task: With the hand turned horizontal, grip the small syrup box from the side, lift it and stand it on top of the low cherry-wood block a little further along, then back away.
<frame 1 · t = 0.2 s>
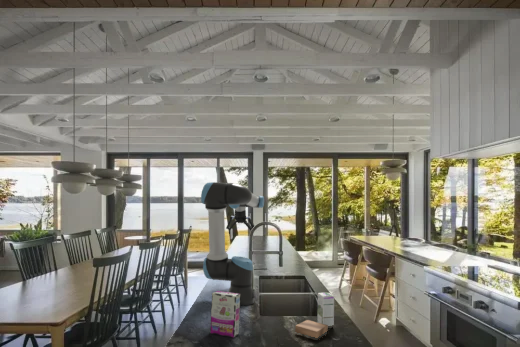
hand: (241, 239, 249), 28 cm above the worktop, tool tilted 20°, fingers open, 13 cm apart
candy bar box: (224, 334, 150), on the worktop
syrup box: (325, 327, 163), on the worktop
wood block: (311, 335, 153), on the worktop
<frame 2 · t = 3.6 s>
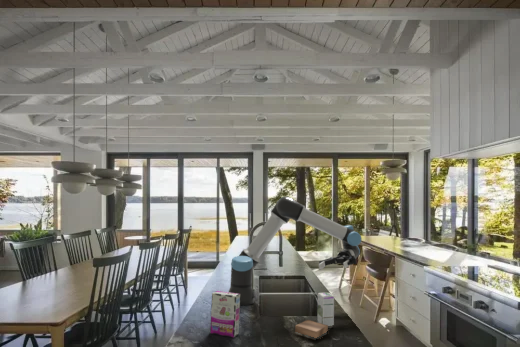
hand: (331, 266, 184), 23 cm above the worktop, tool horizontal, fingers open, 13 cm apart
nothing on the worktop moved.
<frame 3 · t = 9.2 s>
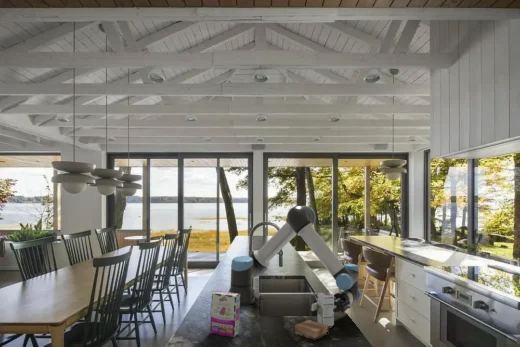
hand: (320, 309, 160), 9 cm above the worktop, tool horizontal, fingers closed on syrup box, 8 cm apart
syrup box: (325, 327, 163), on the worktop, touching gripper
everything else where it was.
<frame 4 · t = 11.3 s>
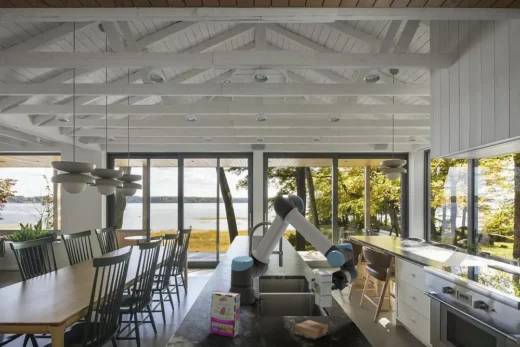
hand: (318, 287, 156), 19 cm above the worktop, tool horizontal, fingers closed on syrup box, 8 cm apart
syrup box: (322, 305, 160), point 10 cm above the worktop, touching gripper
everything else where it was.
when the fingers open (14 cm above the worktop, at t = 13.9 s): syrup box drops 2 cm, resting on wood block.
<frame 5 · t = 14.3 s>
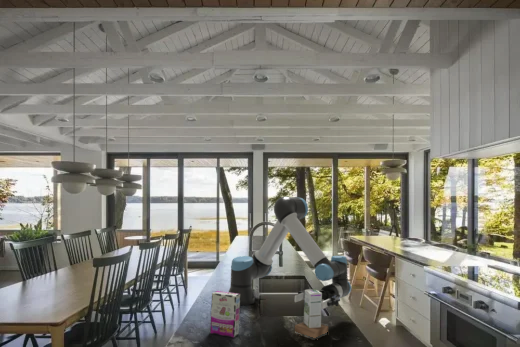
hand: (308, 302, 151), 14 cm above the worktop, tool horizontal, fingers open, 12 cm apart
syrup box: (311, 325, 154), point 3 cm above the worktop, touching wood block
wood block: (311, 335, 153), on the worktop, touching syrup box
everything else where it was.
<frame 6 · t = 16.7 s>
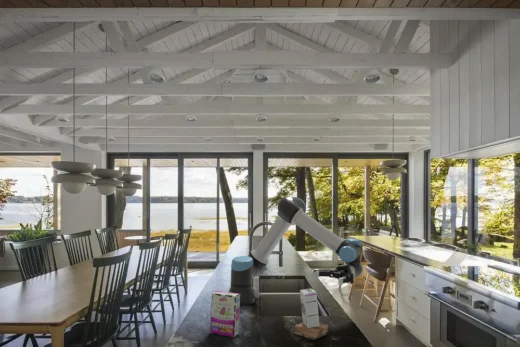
hand: (324, 278, 162), 22 cm above the worktop, tool horizontal, fingers open, 13 cm apart
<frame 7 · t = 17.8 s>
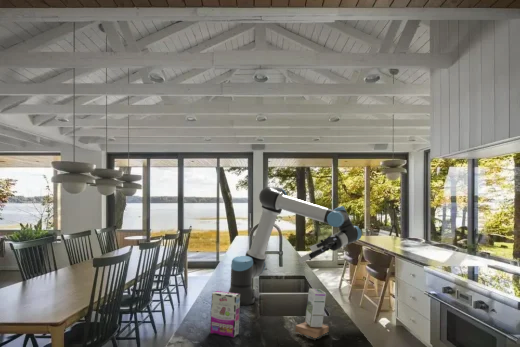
hand: (305, 255, 173), 30 cm above the worktop, tool tilted 75°, fingers open, 13 cm apart
syrup box: (313, 325, 154), point 4 cm above the worktop
wood block: (312, 335, 153), on the worktop
everything else where it was.
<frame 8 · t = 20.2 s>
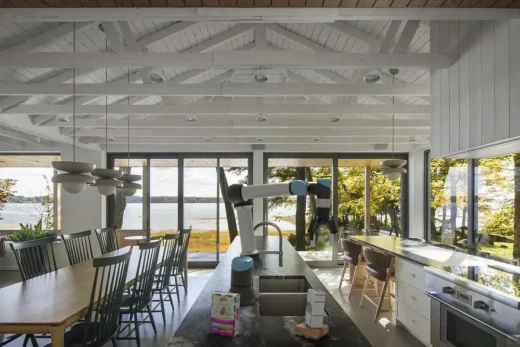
hand: (322, 246, 197), 32 cm above the worktop, tool pointing down, fingers open, 13 cm apart
syrup box: (312, 325, 153), point 4 cm above the worktop, touching wood block
wood block: (311, 335, 153), on the worktop, touching syrup box
everything else where it was.
at the end: syrup box inside the target area on the wood block (0.3 cm from its centre), point 4.1 cm above the wood block's base; syrup box tilted 5°; the gripper is holding nothing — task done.
